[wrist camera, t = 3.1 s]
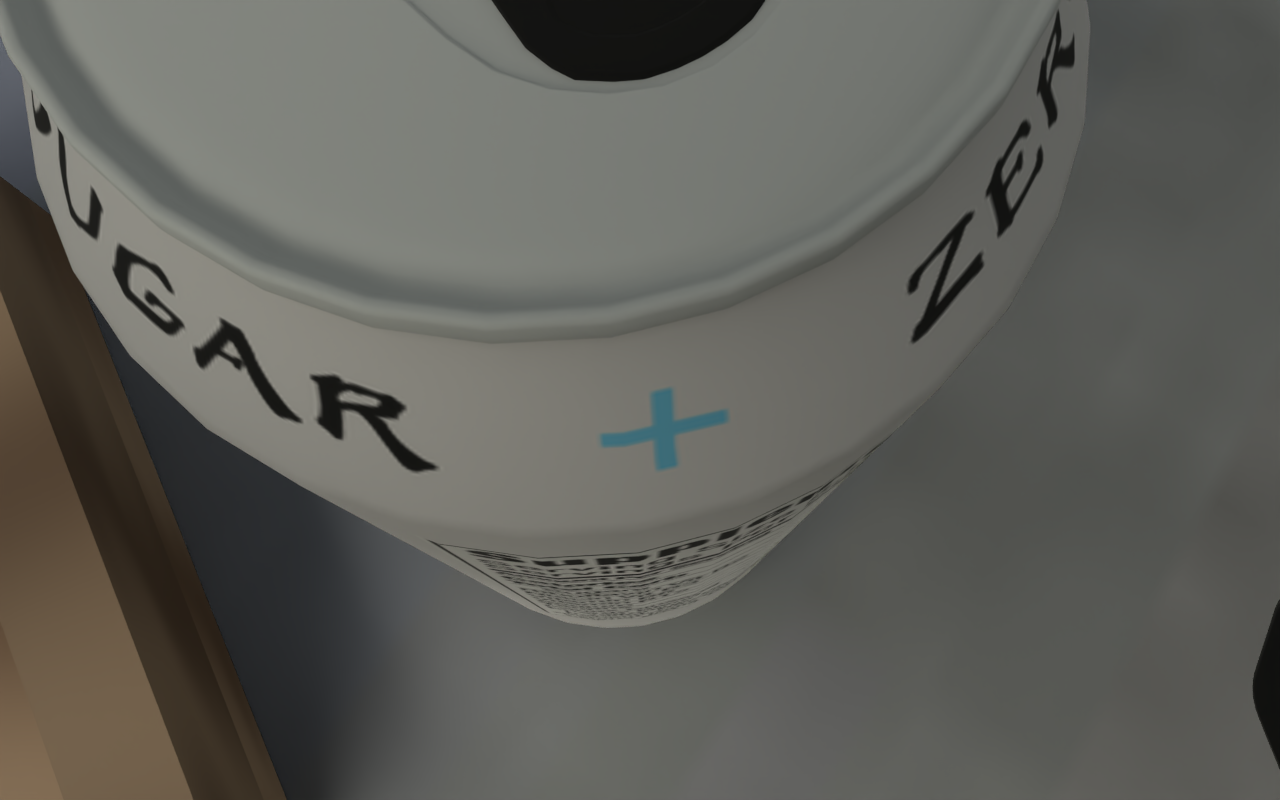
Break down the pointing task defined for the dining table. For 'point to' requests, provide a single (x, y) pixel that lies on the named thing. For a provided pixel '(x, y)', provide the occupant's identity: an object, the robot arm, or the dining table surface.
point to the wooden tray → (97, 570)
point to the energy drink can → (556, 250)
